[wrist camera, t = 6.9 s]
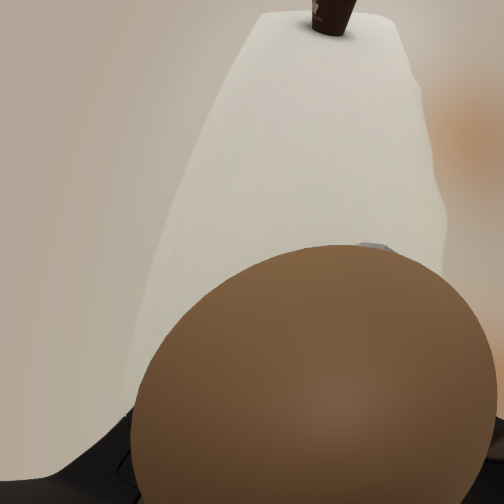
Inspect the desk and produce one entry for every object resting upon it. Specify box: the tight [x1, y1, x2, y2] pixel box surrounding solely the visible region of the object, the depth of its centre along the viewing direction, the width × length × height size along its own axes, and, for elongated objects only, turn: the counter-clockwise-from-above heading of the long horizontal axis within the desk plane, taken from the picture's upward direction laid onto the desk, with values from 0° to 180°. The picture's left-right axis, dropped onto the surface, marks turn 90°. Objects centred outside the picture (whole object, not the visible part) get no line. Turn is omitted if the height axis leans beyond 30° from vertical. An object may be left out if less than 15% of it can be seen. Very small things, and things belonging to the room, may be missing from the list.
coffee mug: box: [312, 0, 356, 36], centre depth 38 cm, size 12×9×10 cm
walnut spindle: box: [130, 245, 497, 504], centre depth 8 cm, size 4×4×13 cm
